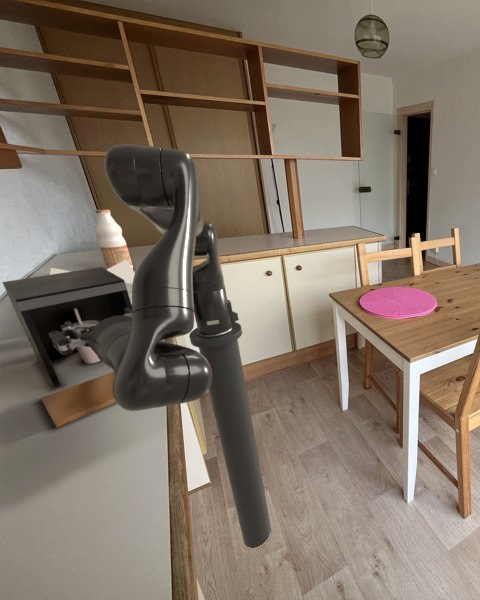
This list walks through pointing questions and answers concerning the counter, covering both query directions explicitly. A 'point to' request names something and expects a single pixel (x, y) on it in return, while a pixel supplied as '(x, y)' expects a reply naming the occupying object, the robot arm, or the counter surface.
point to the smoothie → (85, 352)
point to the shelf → (64, 306)
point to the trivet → (80, 399)
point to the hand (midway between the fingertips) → (99, 319)
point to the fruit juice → (111, 240)
